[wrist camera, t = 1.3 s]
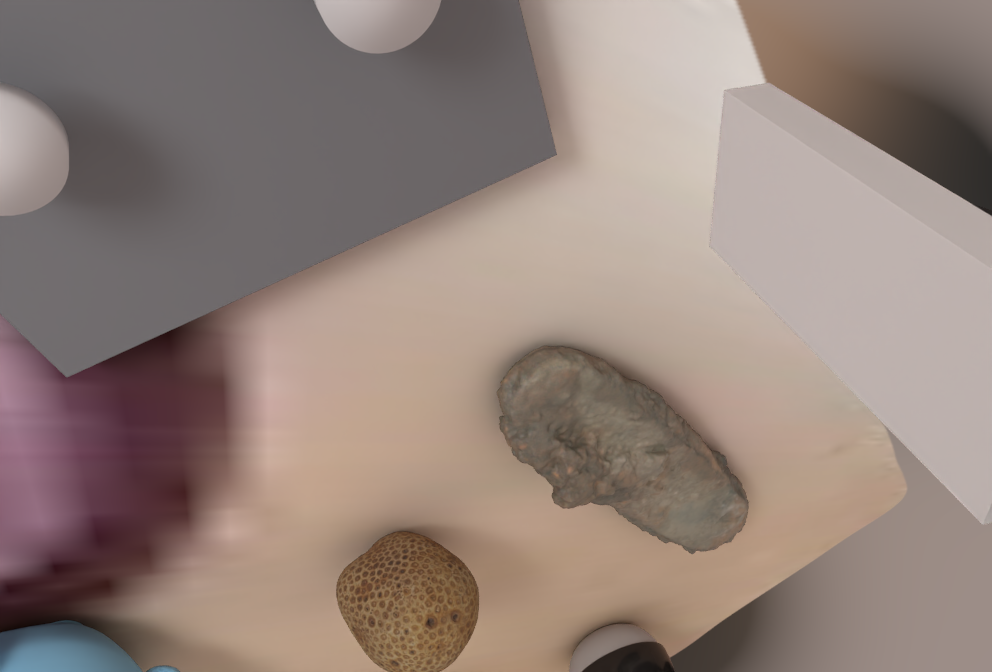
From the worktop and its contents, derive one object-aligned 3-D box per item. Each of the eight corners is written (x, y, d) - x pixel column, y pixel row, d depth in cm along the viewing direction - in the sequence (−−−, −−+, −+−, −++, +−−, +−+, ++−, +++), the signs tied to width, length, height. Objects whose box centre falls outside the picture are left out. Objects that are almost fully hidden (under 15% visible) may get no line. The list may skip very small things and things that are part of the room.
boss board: (-420, -136, 24) (-510, -77, 20) (386, -461, 25) (440, -461, 21) (66, 348, 40) (66, 431, 36) (540, 134, 41) (586, 192, 37)
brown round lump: (465, 546, 64) (511, 667, 57) (355, 595, 63) (390, 723, 56) (435, 483, 57) (484, 611, 50) (312, 536, 56) (345, 673, 49)
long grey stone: (665, 537, 78) (749, 469, 76) (698, 584, 74) (786, 514, 72) (445, 410, 52) (565, 302, 50) (479, 473, 48) (609, 360, 47)
